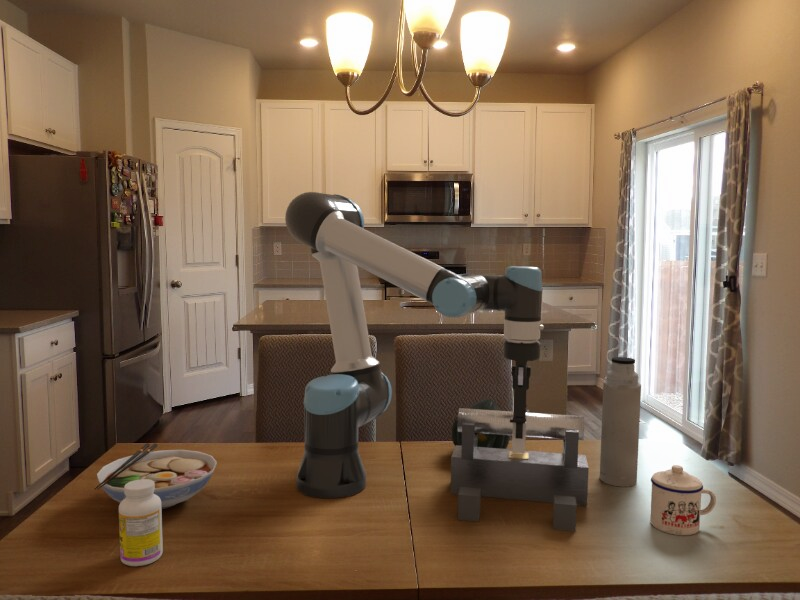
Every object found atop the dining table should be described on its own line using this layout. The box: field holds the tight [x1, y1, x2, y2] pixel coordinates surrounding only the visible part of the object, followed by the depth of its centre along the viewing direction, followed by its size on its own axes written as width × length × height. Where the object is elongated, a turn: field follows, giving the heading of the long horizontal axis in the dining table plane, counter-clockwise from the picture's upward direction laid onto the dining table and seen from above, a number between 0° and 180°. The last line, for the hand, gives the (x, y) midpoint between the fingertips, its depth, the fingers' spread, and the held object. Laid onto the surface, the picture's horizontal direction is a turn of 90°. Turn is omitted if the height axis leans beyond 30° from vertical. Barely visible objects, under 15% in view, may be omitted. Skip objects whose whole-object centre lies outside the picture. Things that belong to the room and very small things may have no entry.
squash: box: [451, 398, 511, 449], centre depth 161 cm, size 14×15×15 cm
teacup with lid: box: [649, 464, 717, 536], centre depth 122 cm, size 12×9×12 cm
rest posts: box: [457, 487, 578, 532], centre depth 123 cm, size 22×4×5 cm, turn 78°
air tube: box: [457, 407, 585, 442], centre depth 136 cm, size 26×5×5 cm, turn 78°
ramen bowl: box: [93, 442, 218, 510], centre depth 130 cm, size 25×23×8 cm
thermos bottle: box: [599, 356, 642, 488], centre depth 144 cm, size 8×8×28 cm
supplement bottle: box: [118, 479, 164, 567], centre depth 107 cm, size 7×7×13 cm
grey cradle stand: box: [450, 422, 589, 507], centre depth 137 cm, size 28×10×16 cm, turn 78°
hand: (518, 447), depth 137 cm, fingers closed on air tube, 5 cm apart
